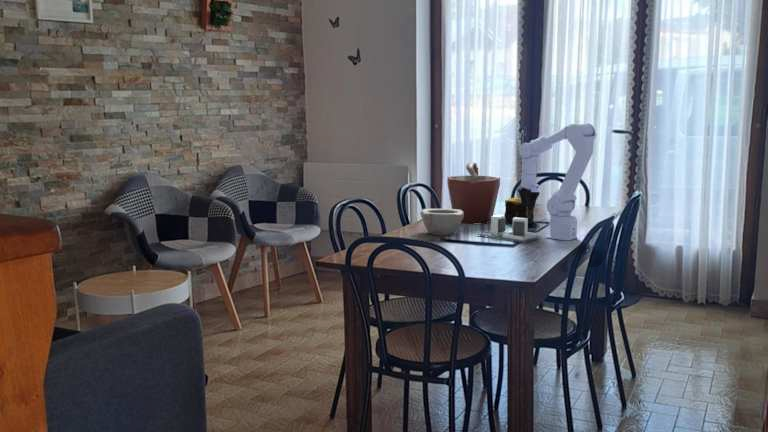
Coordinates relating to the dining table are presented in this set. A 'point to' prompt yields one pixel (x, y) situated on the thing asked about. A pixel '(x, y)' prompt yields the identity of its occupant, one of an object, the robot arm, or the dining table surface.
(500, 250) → the dining table surface
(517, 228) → the white matte cuboid
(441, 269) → the dining table surface
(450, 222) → the mortar
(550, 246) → the dining table surface
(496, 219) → the grey hollow box
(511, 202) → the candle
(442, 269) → the dining table surface
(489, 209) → the bucket
